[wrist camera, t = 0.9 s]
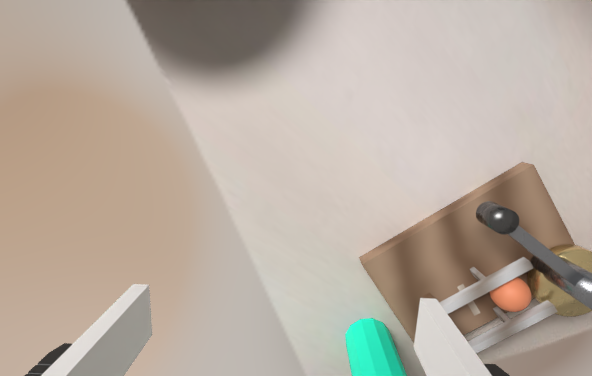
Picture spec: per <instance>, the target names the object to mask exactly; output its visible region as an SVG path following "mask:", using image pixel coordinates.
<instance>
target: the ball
mask: <svg viewBox="0 0 592 376" xmlns="http://www.w3.org/2000/svg"><path fill="white" fill-rule="evenodd" d="M490 296H491V298H492V300H493V302H494V303H495V304H496V305H497V306H499V307H500V308H502V309H504V310H506V311H511V312H517V311H521V310H523V309H525V308H526V307H527V306H528V305H529V304H530V301H531V291H530V289H529V287H528V285H527V284H526V283H525V282H524V281H523V280H522V279H520V278H518V277H516V278H514V279H512V280H510V281H508V282H507V283H505V284H503V285H501V286H499V287H497V288H495V289H494V290H492V291H490Z"/></svg>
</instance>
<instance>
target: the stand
mask: <svg viewBox="0 0 592 376" xmlns="http://www.w3.org/2000/svg"><path fill="white" fill-rule="evenodd" d="M487 201H492V202H495V203H497V204H499V205H501V206H504V207H506V208H508V209H510V210H513V211H514V212H516V213H517V214H518V216H519V226H520V227H521V228H523V229H524V230H525V231H526V232H528V233H529V234H530V235H532V236H533V237H534V238H535V239H537V240H538V241H539V242H540V243H542V244H543V245H544V246H545V247H547V248H548V249H550V248H552V247H555V246H558V245H564V244H572V245H575V244H574V242H573V240H572V238H571V236H570V234H569V232H568V230H567V228H566V227H565V225H564V223H563V221H562V219H561V217H560V215H559V213H558V211H557V209H556V207H555V205H554V203H553V201H552V199H551V197H550V195H549V194H548V192H547V190H546V188H545V186H544V184H543V182H542V180H541V178H540V176H539V174H538V172H537V170H536V168H535V166H534V165H532V164H528V163H523V162H522V163H520V164H518V165H516V166H515V167H513V168H511V169H510V170H508V171H506V172H504V173H503V174H501V175H499V176H498V177H496V178H494V179H492V180H491V181H489V182H487V183H486V184H484V185H482V186H481V187H479V188H477V189H475V190H474V191H472V192H470V193H469V194H467V195H465V196H463V197H462V198H460V199H458V200H457V201H455V202H453V203H451V204H450V205H448V206H446V207H445V208H443V209H441V210H440V211H438V212H436V213H434V214H433V215H431V216H429V217H428V218H426V219H424V220H422V221H421V222H419V223H417V224H416V225H414V226H412V227H411V228H409V229H407V230H405V231H404V232H402V233H400V234H399V235H397V236H395V237H393V238H392V239H390V240H388V241H387V242H385V243H383V244H381V245H380V246H378V247H376V248H375V249H373V250H371V251H370V252H368V253H366V254H364V255H363V256H361V257H359V258H360V261H361V263H362V265H363V267H364V268H365V270H366V271H367V273H368V274H369V276H370V277H371V279H372V280H373V282H374V283H375V285H376V286H377V288H378V289H379V291H380V292H381V294H382V296H383V297H384V299H385V300H386V302H387V303H388V305H389V306H390V308H391V309H392V311H393V312H394V314H395V315H396V317H397V318H398V320H399V321H400V323H401V324H402V326H403V327H404V329H405V330H406V332H407V333H408V335H409V336H410V338H411V339H412V341H413V342H414V341H415V333H416V326H417V318H418V311H419V304H420V298H431V299H437V300H438V302H439V303H440V305H441V306H442V307H443V309H444V310H445V311H446V313H447V314H448V316H449V317H450V318H451V320H452V321H453V323H454V324H455V325H456V327H457V328H458V329H459V331H460V332H461V334H462V335H465V334H467V333H469V332H471V331H472V330H474V329H476V328H478V327H480V326H482V325H484V324H486V323H488V322H490V321H492V320H494V319H495V318H497V317H499V318H500V319H501V320H502V321H503V322H504V323H502V324H500V325H498V326H496V327H494V328H492V329H490V330H488V331H487V332H485V333H483V334H481V335H479V336H477V337H475V338H473V339H471V340H469V341H467V342H468V343H469V345H470V346H471V347H472V349H473V350H474V351H475V353H478V352H480V351H482V350H484V349H486V348H488V347H490V346H492V345H494V344H496V343H498V342H500V341H502V340H504V339H506V338H508V337H510V336H512V335H513V334H515V333H517V332H519V331H521V330H523V329H525V328H527V327H529V326H531V325H533V324H535V323H537V322H539V321H541V320H543V319H545V318H547V317H549V316H551V315H553V314H555V313H557V312H558V311H557V309H556V308H555V306H554V305H553V304H552V303H551V302H549V301H548V300H546V301H544V302H542V303H541V304H539V305H537V306H535V307H533V308H531V309H529V310H527V311H525V312H523V313H521V314H519V315H517V316H515V317H514V318H512V319H510V318H509V317H508V316H507V315H506V314H505V313H507V312H509V311H506V310H504V309H502V308H500V307H499V306H497V305H496V304H495V303H494V302H493V300H492V298H491V296H490V291H492V290H494V289H495V288H497V287H499V286H501V285H503V284H505V283H507V282H508V281H510V280H512V279H514V278H516V277H518V278H520V279H522V280H523V281H524V282H525V283H526V284H527V285H528V283H527V277H528V272H529V270H531V269H533V266H532V264H531V259H532V257H533V256H534V255H533V254H531V253H530V252H529V251H527V250H526V249H525V248H524V247H522V246H521V245H520V244H519V243H517V242H516V241H515V240H513V239H512V238H511V237H510V236H508V235H507V234H506V235H502V234H499V233H497V232H495V231H494V230H492V229H490V228H489V227H487V226H485V225H484V224H482V223H480V222H479V221H478V220H477V218H476V210H477V208H478V206H479V205H480V204H482V203H484V202H487ZM532 299H534V297H533V296H532V294H531V300H532Z"/></svg>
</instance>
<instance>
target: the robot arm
mask: <svg viewBox="0 0 592 376" xmlns="http://www.w3.org/2000/svg"><path fill="white" fill-rule="evenodd" d="M151 336H152V325H151V309H150V293H149V285H142V284H133V285H132V286H131V287H130V288H129V289H128V290H127V291H126V292H125V293H124V294H123V295H122V296H121V297H120V298H119V299H118V300H117V301H116V302H115V303H114V304H113V305H112V306H111V307H110V308H109V309H108V310H107V311H106V312H105V313H104V314H103V315H102V316H101V317H100V318H99V319H98V320H97V321H96V322H95V323H94V324H93V325H92V326H91V327H90V328H88V329H87V330H86V331H85V333H84V334H82V335H81V336H80V337H79V339H77V341H76V342H74V343H73V344H67V343H66V344H65V343H64V344H63V345H61V346H59V347H58V348H56V349H54V350H53V351H51V352H50V353H48V354H47V355H46V356H45V357H44V358H43V359H42V360H41V361H40V362H39V363H38V365H36V366H34V367H33V368H32V369H31V370H30V371H29V372H28V374H26V375H25V376H124V375H125V373H126V372H127V370H128V369H129V367H130V366H131V364H132V363H133V362H134V360H135V359H136V357H137V356H138V354H139V353H140V352H141V350H142V349H143V347H144V346H145V344H146V343H147V341H148V340H149V338H150V337H151ZM414 350H415V352H416V354H417V356H418V358H419V361H420V363H421V365H422V367H423V369H424V371H425V373H426V375H427V376H509V375H508V374H507V373H506V372H504V371H503V370H502V369H501V368H499V367H498V366H496V365H495V364H483V363H482V361H481V360H480V358H479V357H478V356H477V354H476V353H475V351H474V350H473V349H472V347H471V346H470V345H469V343H468V342H467V340H466V339H465V338H464V336H463V335H462V334H461V332H460V331H459V329H458V328H457V327H456V325H455V324H454V323H453V321H452V320H451V318H450V317H449V316H448V314H447V313H446V311H445V310H444V309H443V307H442V306H441V305H440V303H439V302H438V300H437V299H431V298H420V304H419V311H418V318H417V326H416V333H415V341H414Z"/></svg>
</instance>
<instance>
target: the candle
mask: <svg viewBox="0 0 592 376" xmlns="http://www.w3.org/2000/svg"><path fill="white" fill-rule="evenodd" d="M346 346H347V352H348V357H349V362H350V367H351V373H352V376H407V374H406V372H405V369H404V367H403V364H402V362H401V359H400V357H399V354H398V352H397V349H396V347H395V344H394V342H393V339H392V337H391V334H390V332H389V330H388V329H387V328H386V326H385V325H384V324H383V323H382V322H380V321H377V320H375V319H373V318H370V319H360V320H358V321H357V322H355V323H354V324H352V325H351V326H350V327H349V329H348V331H347V333H346Z"/></svg>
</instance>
